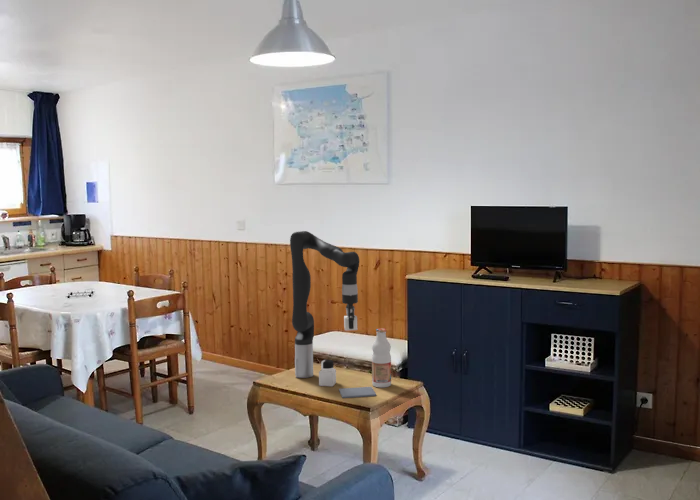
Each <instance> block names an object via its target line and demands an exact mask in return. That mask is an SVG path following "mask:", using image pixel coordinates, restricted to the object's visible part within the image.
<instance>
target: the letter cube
mask: <svg viewBox="0 0 700 500" xmlns="http://www.w3.org/2000/svg"><path fill="white" fill-rule="evenodd" d="M350 318H352V317H350ZM353 326H354V328H353V329H349V321H348V316H347V315H344V316H343V327H344V331H345V332H346V331H358V316H357V315H355V314H354V321H353Z"/></svg>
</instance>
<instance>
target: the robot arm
mask: <svg viewBox="0 0 700 500" xmlns="http://www.w3.org/2000/svg"><path fill="white" fill-rule="evenodd" d="M289 238H290V239H289V244H290V245H289V247H290V254H291V264H292V265H291V266H292V267H291V268H292V302H293V303H292V317H291V323H292V327H293V329H294V330H295V331H296V332H297V333H296V335H295V338H294V375H295V378H300V379H301V378H303V379H305V378H306V379H308V378H311V377H314V346H313V345H314V343H313V342H314V335H315V320H314V316H313V315H312V313H311V312H309V311H308V310H307V307H308V300H309V296H310V292H311V286H312V284H311V283H312V282H311V272H310V270H309V268H308V267H307V265H306V262H305V260H304V250H307V249H310V250H315V251H317V252H318V253H319V254H320V255H321V256H322V257H324V258H326V259H328V260H330V261H332V262H334V263H336V264H337V265H338V266H340V267H343V268H346V270H345V271H344V272H342V277H341V280H342V283H341V284H342V285H341V286H342V287H341V295H342V296H341V298H342V299H341V301H342V303H343V304H345V305H346V306H345V311H346V312H345V313H346V316H348V321H349V329H353V328H354V326H353V321H354V315H355V306H354V304H358V302H359V301H358V299H359V297H358V296H359V293H358V291H359V289H358V284H357V283H358V277H357V275H358V271H359V266H360V257H359V254H358V253H357V252H356V251H348V252H344V251H343V249H342V248H340V247H339V246H337V245H334V244H330V243H329V242H326V241H325V240H323V239H320V238H319V237H318V236H316V235H314V234H313V233H311V232H309V231H308V230H302V231H301V230H300V231H294V232H293V233H292V234H291V235H290V237H289ZM350 317H352V318H350Z"/></svg>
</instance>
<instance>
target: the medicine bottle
mask: <svg viewBox="0 0 700 500" xmlns="http://www.w3.org/2000/svg"><path fill="white" fill-rule="evenodd" d="M320 363H321V364H320V365H321V367H320V368H321V369H320V370H318V386H320V387H334V386H335V384H336V383H337V369H336V368H334V361H333V360H332V359H323V360H321V362H320Z"/></svg>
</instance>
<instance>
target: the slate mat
mask: <svg viewBox="0 0 700 500" xmlns="http://www.w3.org/2000/svg"><path fill="white" fill-rule="evenodd" d="M338 392H339V393H340V396H341V398H342V399H350V398H353V399H354V398H365V397H366V398H367V397H377V393H376V392H375V390H374V388H373V387H372V386H362V387H361V386H359V387H347V388H346V387H345V388H338Z"/></svg>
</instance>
